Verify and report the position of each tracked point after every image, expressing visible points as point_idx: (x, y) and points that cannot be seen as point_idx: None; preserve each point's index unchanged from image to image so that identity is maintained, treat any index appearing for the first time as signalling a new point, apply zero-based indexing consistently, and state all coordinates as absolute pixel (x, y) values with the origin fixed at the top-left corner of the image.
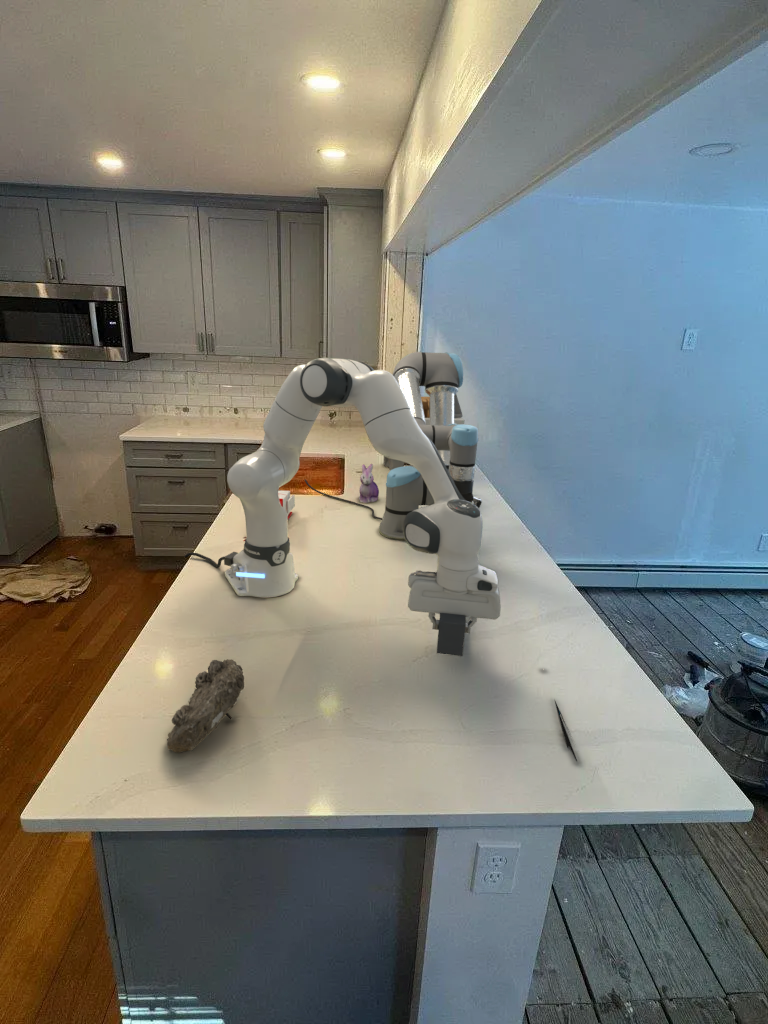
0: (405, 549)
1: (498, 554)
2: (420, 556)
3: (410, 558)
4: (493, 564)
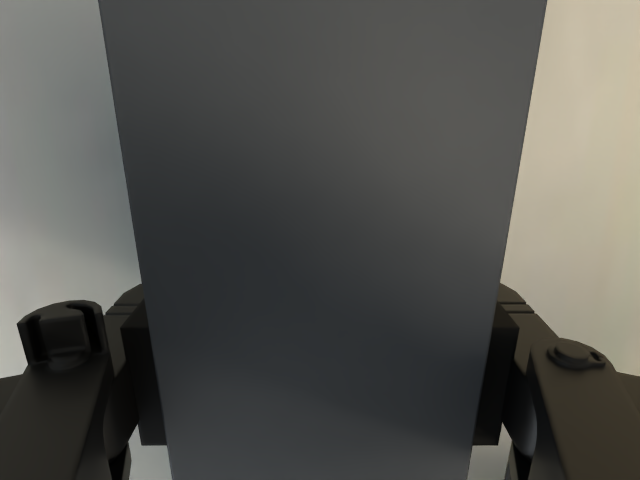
0: None
1: None
2: (535, 307)
3: (608, 264)
4: (54, 289)
